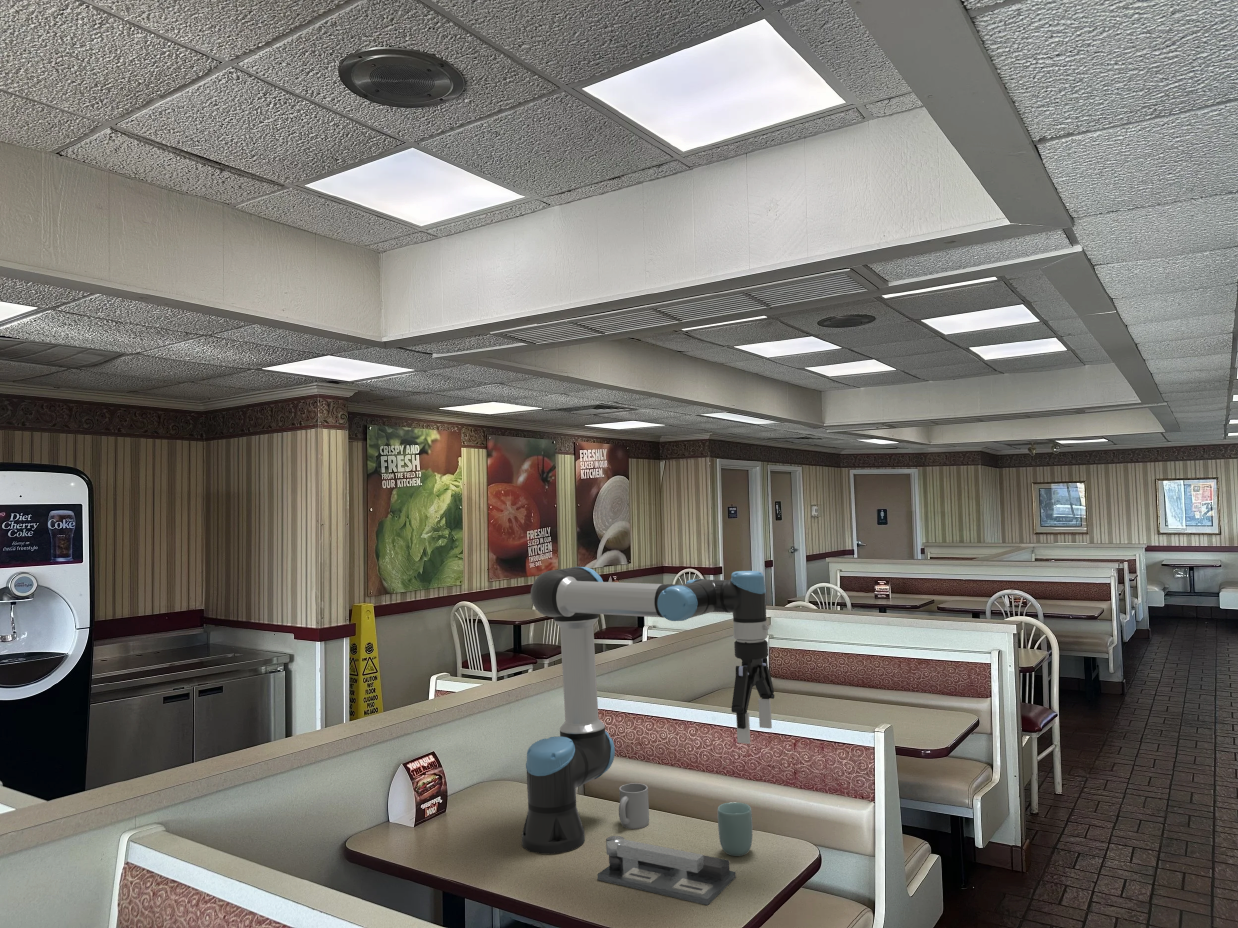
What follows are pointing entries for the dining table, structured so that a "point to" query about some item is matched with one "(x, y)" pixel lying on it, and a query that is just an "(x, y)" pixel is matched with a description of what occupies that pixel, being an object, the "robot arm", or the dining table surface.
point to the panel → (671, 878)
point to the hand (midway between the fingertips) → (755, 735)
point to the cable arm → (654, 854)
